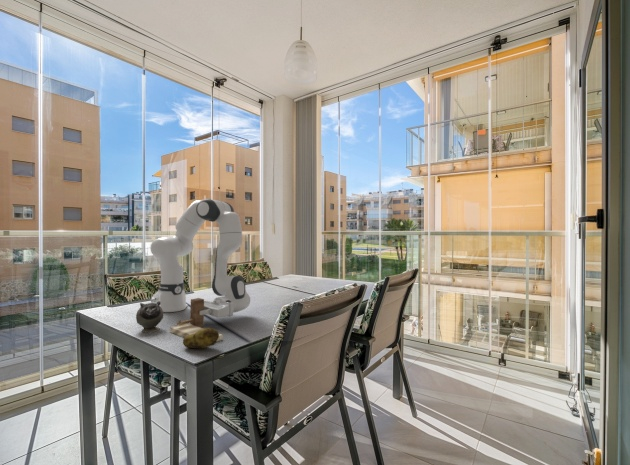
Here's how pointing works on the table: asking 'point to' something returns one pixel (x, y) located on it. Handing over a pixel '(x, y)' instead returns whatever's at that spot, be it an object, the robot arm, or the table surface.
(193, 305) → the wooden block
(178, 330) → the plank
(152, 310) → the round clay pot
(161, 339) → the table surface
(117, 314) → the table surface
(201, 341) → the potato
